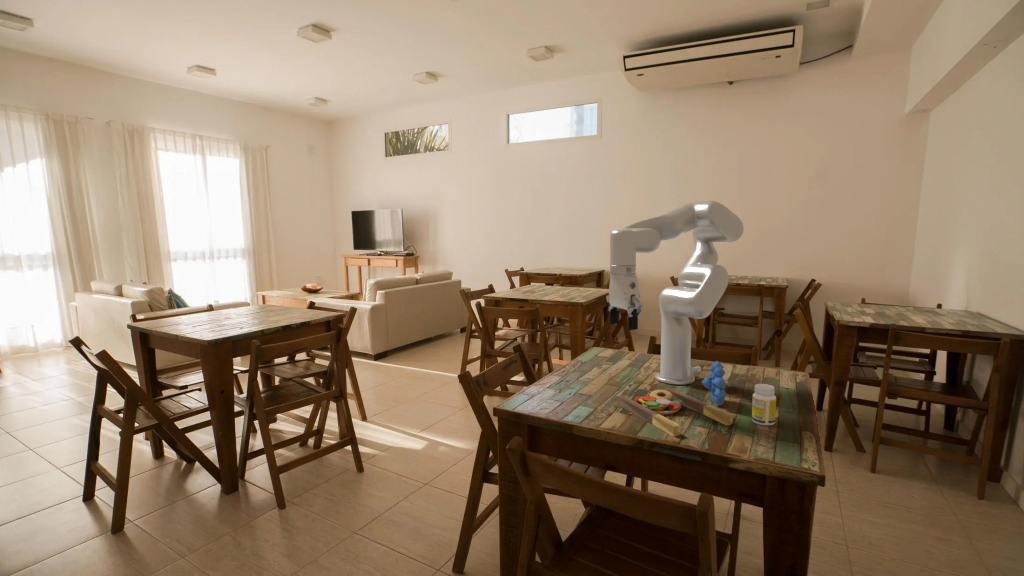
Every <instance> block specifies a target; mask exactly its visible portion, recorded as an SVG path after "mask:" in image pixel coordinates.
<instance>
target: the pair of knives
mask: <svg viewBox="0 0 1024 576" xmlns="http://www.w3.org/2000/svg"><path fill="white" fill-rule="evenodd" d="M663 390H666V391H669V392H670V393H671V394H672V395H673V400H677V399H678V400H682V401H683V403H682V404H681V406H683V407H686V408H688V409H691V410H693V411H695V412H696V413H700V414H702V415H703V416H706V417H708V418H710V419H713V420H714V421H716V422H718V423H720V424H722V425H724V426H730V425H733V421H734V419H733V417H734V415H733V414H732V413H730V412H727V411H725V410H722V409H720V408H718V407H716V406H714V405H711V404H709V403H706V402H704V401H702V400H699V399H697V398H695V397H694V396H691V395H688V394H685V393H683V392H680V391H678V390H676V389H674V388H672V387H665V388H663ZM616 405H617V406H619V407H620V408H622V409H624V410H626V411H628V412H630V413H631V414H633V415H635V416H636V417H639V418H641V420H643V421H646V423H649V424H650V425H652V426H655V427H656V428H658V429H659V430H662V431H663V432H665V433H666V434H668V435H670V436H672V437H677V436H678V437H679V436H681V424H678V423H677V422H675V421H673V420H671V419H669V418H667V417H665V416H664V415H660V414H658V413H656V412H654V411H652V410H650V409H648V408H646V407H644V406H642V405H641V404H639V403H637V402H635V401H634V400H633V399H631V398H629V397H627V396H625V395H624V394H622V395H621V394H620V395H616Z"/></svg>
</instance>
